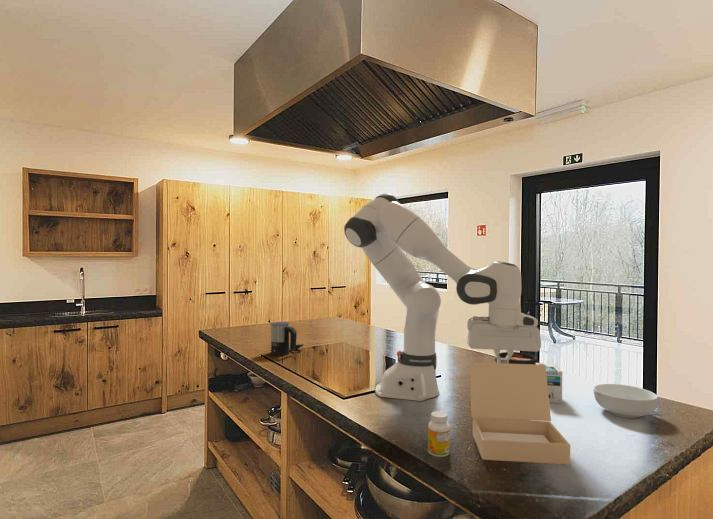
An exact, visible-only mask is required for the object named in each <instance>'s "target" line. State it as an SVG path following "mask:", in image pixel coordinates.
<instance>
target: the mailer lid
mask: <svg viewBox="0 0 713 519" xmlns="http://www.w3.org/2000/svg"><path fill="white" fill-rule="evenodd" d="M468 366H469V388H470V389H469V390H470V391H469V392H470V394H469V395H470V411H471V412H470V414H471V417H470V418H472V419H473V418H486V419H507V420H529V421H550V422H551V421H552V418H551V407H550V402H549V395H548V384H547V374H546V365H534V364H505V363H496V362H475V361H474V362H470V361H469V362H468Z"/></svg>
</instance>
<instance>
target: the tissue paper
mask: <svg viewBox="0 0 713 519" xmlns="http://www.w3.org/2000/svg"><path fill="white" fill-rule="evenodd" d="M482 434H483V437H484V439H487V440H507V441H526V442H545V443H549V441H548V440H547V439H546V437H545V436H544V435H532V434H513V433H493V432H482Z"/></svg>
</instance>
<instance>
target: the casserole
mask: <svg viewBox="0 0 713 519" xmlns="http://www.w3.org/2000/svg"><path fill="white" fill-rule="evenodd" d="M507 354H508V353H507V352H506V351H505V352H503V351H502V352H500V354H499V353H498V355H499V357H500V358H505V357H506V356H507ZM494 362H495V363H497V357H496V356H495V358H494ZM536 363H540V361H539V360H538V358H537V356H536V355H533V354H530V353H525V352H517V351H513V355H512V357H511V358H510V360H509V364H534V365H536Z"/></svg>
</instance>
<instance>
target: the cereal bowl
mask: <svg viewBox="0 0 713 519" xmlns="http://www.w3.org/2000/svg"><path fill="white" fill-rule="evenodd" d="M593 397H594V400H595V401H596V403H597V404H598V405H599V406H600V407H602V409H604V410H606V411H609V412H610V414H612V415H615V416H617V417H620V418H625V419H627V418H628V419H639V418H640V417H641V416H642V417H643V416H648V415H650V414H652V413H654V412H655V410H656V409H657V407H658V403H659V401H658V400H659V396H658V395H657V394H656V393H654V392H653V391H651V390H648V389H644V388H642V387H638V386H637V387H636V386H632V385H627V384H616V383H602V384H597V385H595V386H594V387H593Z"/></svg>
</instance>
